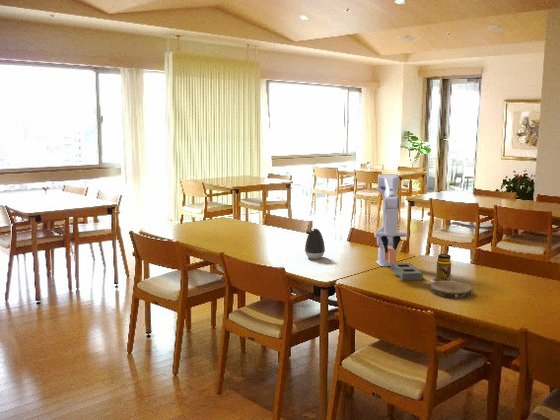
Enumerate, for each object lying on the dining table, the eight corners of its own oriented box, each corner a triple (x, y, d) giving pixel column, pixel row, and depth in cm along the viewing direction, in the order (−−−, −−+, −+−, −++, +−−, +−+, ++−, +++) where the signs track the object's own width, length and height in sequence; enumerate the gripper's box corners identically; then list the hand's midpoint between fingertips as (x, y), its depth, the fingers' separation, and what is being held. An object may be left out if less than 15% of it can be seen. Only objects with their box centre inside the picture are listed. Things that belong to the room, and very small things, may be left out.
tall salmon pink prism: (383, 258, 261) (383, 246, 260) (389, 258, 261) (390, 245, 260) (389, 264, 251) (389, 251, 250) (395, 264, 251) (396, 250, 251)
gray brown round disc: (425, 287, 239) (425, 281, 238) (462, 287, 240) (462, 280, 239) (438, 300, 223) (439, 292, 222) (477, 299, 224) (478, 291, 224)
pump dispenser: (300, 256, 290) (301, 227, 288) (318, 254, 295) (318, 226, 292) (310, 261, 281) (311, 231, 279) (328, 258, 286) (329, 229, 283)
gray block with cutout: (390, 269, 266) (390, 263, 266) (409, 268, 267) (409, 262, 267) (402, 280, 249) (402, 273, 248) (422, 279, 249) (422, 273, 249)
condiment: (449, 284, 242) (450, 257, 240) (429, 282, 246) (430, 255, 244) (452, 280, 248) (454, 254, 246) (433, 278, 252) (434, 251, 250)
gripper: (377, 225, 249) (376, 255, 251) (409, 224, 250) (408, 254, 252) (373, 222, 256) (372, 251, 258) (404, 221, 257) (403, 250, 259)
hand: (390, 252), depth 256 cm, fingers closed on tall salmon pink prism, 3 cm apart
